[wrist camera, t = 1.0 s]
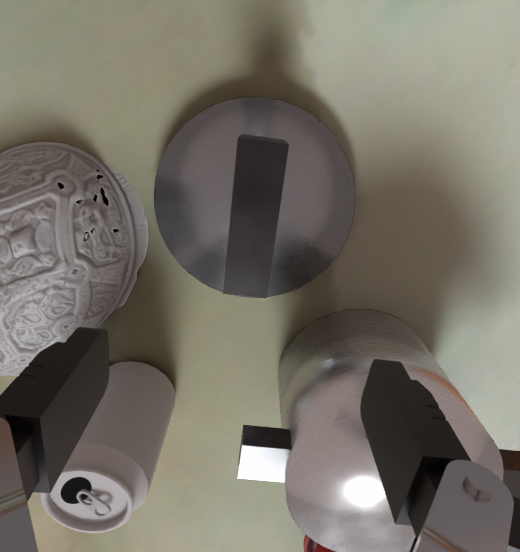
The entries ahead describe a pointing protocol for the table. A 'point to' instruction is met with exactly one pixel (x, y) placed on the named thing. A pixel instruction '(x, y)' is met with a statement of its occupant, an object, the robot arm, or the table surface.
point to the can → (114, 452)
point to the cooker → (351, 431)
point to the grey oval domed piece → (62, 247)
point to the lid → (254, 197)
